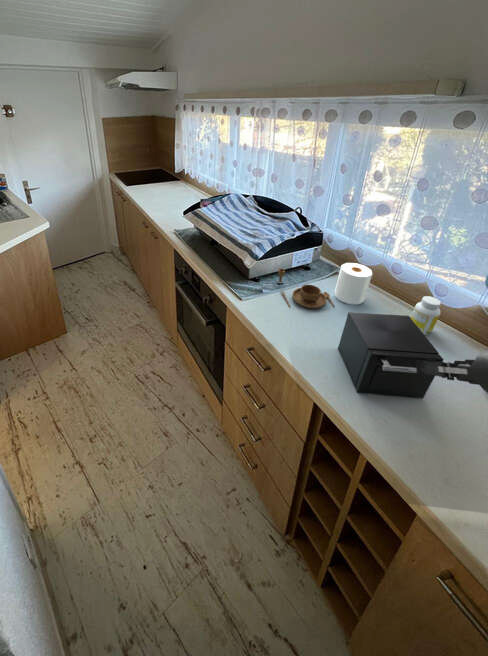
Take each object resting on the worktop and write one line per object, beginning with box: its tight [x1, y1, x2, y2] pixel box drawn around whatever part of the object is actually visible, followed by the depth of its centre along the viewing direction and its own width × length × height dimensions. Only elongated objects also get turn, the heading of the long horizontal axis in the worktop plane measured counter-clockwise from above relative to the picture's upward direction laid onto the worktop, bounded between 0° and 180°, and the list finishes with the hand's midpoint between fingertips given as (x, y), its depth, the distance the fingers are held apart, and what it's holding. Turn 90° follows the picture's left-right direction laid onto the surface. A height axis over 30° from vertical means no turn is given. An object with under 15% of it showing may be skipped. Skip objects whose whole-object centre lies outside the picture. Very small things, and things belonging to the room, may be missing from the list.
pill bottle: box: [410, 295, 442, 336], centre depth 97 cm, size 6×6×12 cm
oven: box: [337, 311, 440, 388], centre depth 83 cm, size 14×16×14 cm
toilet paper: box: [334, 262, 373, 305], centre depth 113 cm, size 10×10×12 cm
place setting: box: [277, 268, 336, 310], centre depth 117 cm, size 18×20×6 cm
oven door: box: [354, 350, 444, 400], centre depth 74 cm, size 5×16×14 cm, turn 83°
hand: (419, 366), depth 67 cm, fingers closed
